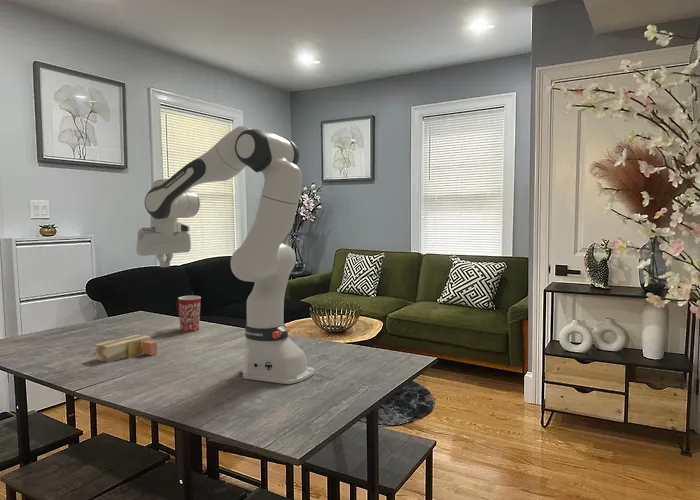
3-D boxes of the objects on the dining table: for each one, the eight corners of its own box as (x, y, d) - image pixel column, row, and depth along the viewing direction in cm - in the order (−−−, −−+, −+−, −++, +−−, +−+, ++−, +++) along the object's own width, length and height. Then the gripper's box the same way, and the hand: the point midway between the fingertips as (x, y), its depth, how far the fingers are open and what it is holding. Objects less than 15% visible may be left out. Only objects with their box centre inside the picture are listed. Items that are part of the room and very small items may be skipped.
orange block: (156, 353, 166) (156, 341, 166) (150, 355, 164) (150, 343, 164) (149, 351, 168) (148, 340, 168) (143, 353, 166) (142, 341, 166)
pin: (141, 354, 166) (141, 340, 165) (129, 358, 161) (128, 343, 161) (112, 348, 173) (112, 335, 173) (99, 351, 169) (99, 338, 168)
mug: (206, 329, 202) (205, 297, 201) (186, 333, 195) (185, 300, 194) (188, 325, 210) (188, 293, 209) (169, 328, 203) (168, 296, 202)
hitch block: (150, 350, 170) (150, 336, 170) (107, 362, 156) (107, 347, 156) (139, 348, 173) (138, 334, 173) (96, 359, 159) (95, 344, 159)
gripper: (144, 227, 158) (145, 270, 159) (193, 226, 176) (193, 265, 177) (131, 227, 161) (132, 269, 162) (181, 226, 179) (181, 264, 180)
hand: (164, 267), depth 170 cm, fingers closed
